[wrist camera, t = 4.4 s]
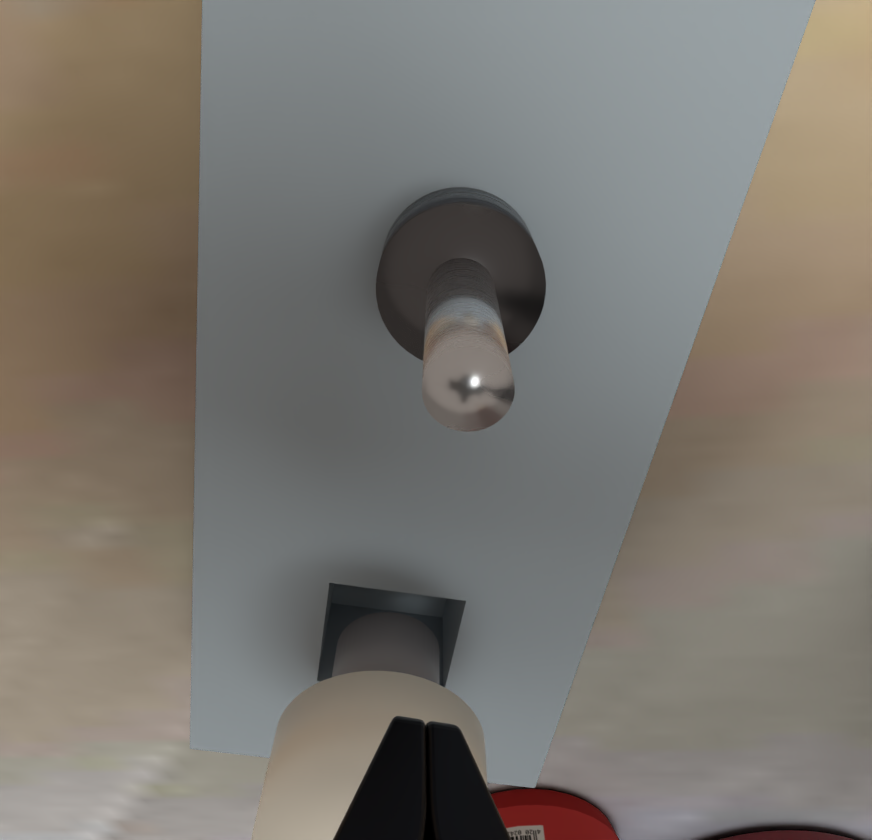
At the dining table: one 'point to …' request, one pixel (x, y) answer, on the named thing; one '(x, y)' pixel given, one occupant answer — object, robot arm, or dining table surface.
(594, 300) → the mount
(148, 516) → the dining table surface
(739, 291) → the dining table surface
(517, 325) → the pot stem
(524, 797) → the canned food
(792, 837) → the canister
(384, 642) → the knob
